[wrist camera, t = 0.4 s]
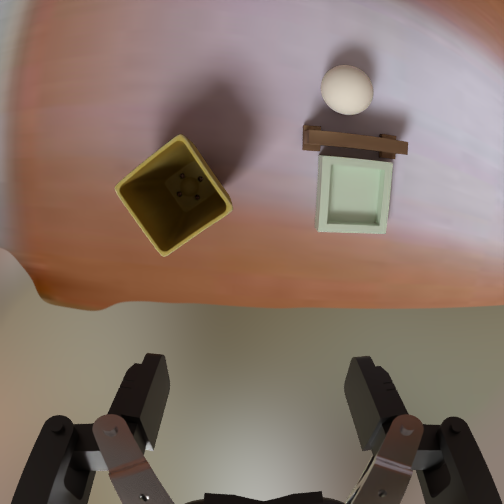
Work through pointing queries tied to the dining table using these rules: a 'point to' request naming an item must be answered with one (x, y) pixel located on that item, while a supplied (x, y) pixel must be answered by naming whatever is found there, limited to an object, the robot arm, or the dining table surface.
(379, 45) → the dining table surface
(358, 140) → the rail
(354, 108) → the ball
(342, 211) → the dish
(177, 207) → the flower pot
